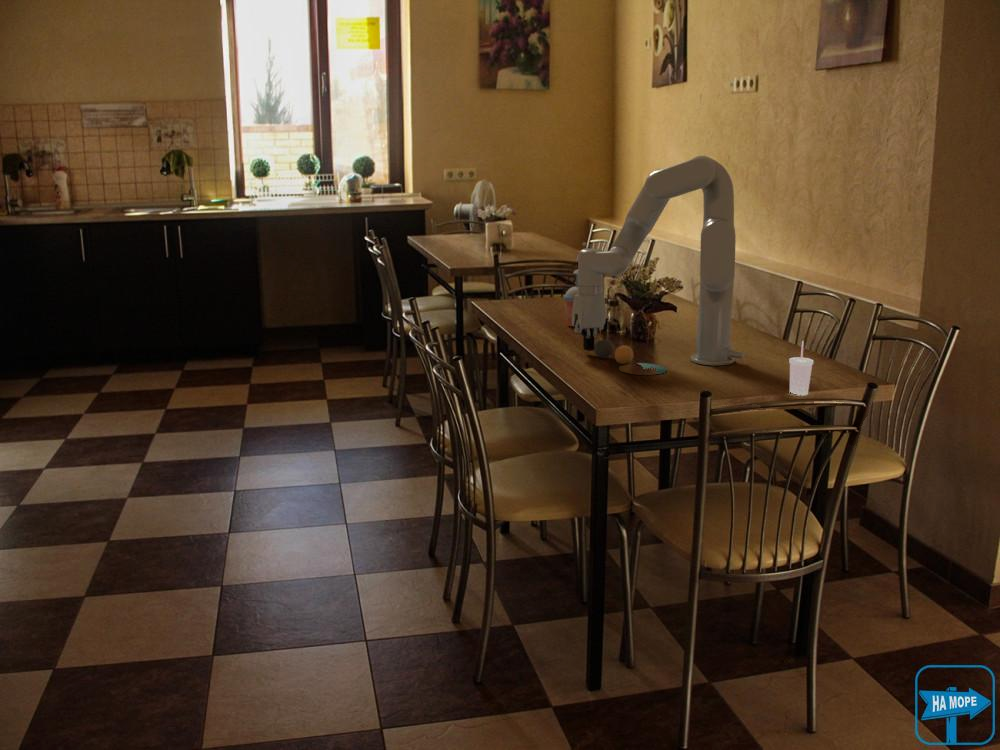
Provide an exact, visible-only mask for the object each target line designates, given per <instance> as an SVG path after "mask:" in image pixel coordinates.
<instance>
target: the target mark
mask: <svg viewBox="0 0 1000 750" xmlns="http://www.w3.org/2000/svg"><path fill="white" fill-rule="evenodd" d="M636 363H637V364H639V365H641V366H642V367H643V369H646V368H647V369H648V368H649V369H650V368H651V367H652V368H651V369H653V368H654V369H655V368H656V372H657V373H656V374H660V375H663V374H662V373H664V374H666V373H667V372H668V368H667V367H665V366H662V365H659V364H654V363H648V362H645V363H644V362H636ZM647 369H646V370H647ZM666 371H667V372H666ZM665 372H666V373H665ZM645 373H646V372H645ZM652 373H653V372H652Z"/></svg>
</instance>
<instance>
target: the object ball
mask: <svg viewBox="0 0 1000 750" xmlns="http://www.w3.org/2000/svg"><path fill="white" fill-rule="evenodd" d="M613 354H614V355H613V356H614V359H615V360H616V362H617V363H618V364H621V365H624V364H630V363H631V362H632V360H633V359H634V351H633V349H632V348H631V347H630V346H628V345H620V346H618V347H617V348H616V349H615V351H614V353H613Z"/></svg>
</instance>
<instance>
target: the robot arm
mask: <svg viewBox="0 0 1000 750" xmlns="http://www.w3.org/2000/svg"><path fill="white" fill-rule="evenodd" d="M700 189H701V191H702V194H703V221H702V222H703V224H702V228H701V232H700V252H699V254H700V256H699V258H700V262H699V263H700V264H699V280H700V281H699V295H698V297H699V298H698V299H699V300H698V313H697V315H698V317H697V330H696V332H697V333H696V347H695V348H696V349H695V351H696V352H695V353H693V354H691V355H690V360H691V362H694V363H695V364H700V365H705V366H727V365H731V364H733V363H734V362H735V358H736V359H739V360H740V359H741V360H743V359H744V355H745V352H742V351H741V350H734V349H733V345H731V344H730V342H731V330H732V328H731V326H732V314H733V313H732V312H733V299H734V282H735V276H736V275H735V272H736V271H735V270H736V242H737V241H736V239H737V238H736V235H737V234H736V229H735V194H734V184H733V181H732V178H731V176H730V174H729V172H728V170H727V169H726V168H725V167H724V166H723V165H722V164H721V163H720V162H718V161H717V160H715V159H713V158H712V157H710V156H706V155H697V156H694V157H692V159H689V160H686V161H683V162H681V163H677V164H674V165H671V166H668V167H664V168H658V169H655V170H654V171H652V172H650V173H649V174H648V176H647V177H646V178H645V182H644V184H643V186H642V187H641V189H640V191H639V193H638V195H637V196H636V198H635V200H634V201H633V203H632V205H631V206H630V209H629V210H628V212H627V213H626V217H625V220H624V223H623V226H622V227H621V230H620V231H619V233H618V235H617V236H616V239H615V240H614V242H613V243H612V245H611V247H610V249H609V250H608V251H603V250H602V249H599V248H585V249H584V248H583V249H581V250H580V251H578V256H577V257H578V260H577V262H578V263H577V264H578V265H577V269H578V295H575V299H574V303H573V311H572V326H573V327H575V328H574V330H573V332H574V333H578V334H581V337H583V342H582V343H583V345H582V346H583V350H585V351H588V352H592V351H593V352H594V346H595V338H596V337H597V335H598V333H599V332H600V331H602V330H604V329H605V324H606V321H607V320H606V318H607V316H606V315H607V313H606V310H607V309H606V307H607V306H606V299H605V295H604V293H603V292H604V290H605V288H606V285H604V275H606V276H613V277H618V276H622V275H623V274H625V272H626V271H627V270H628V268H629V267H630V265H631V263H632V262H633V260H634V258H635V257H636V254H637V253H638V251H639V249H640V248H641V246H642V244H643V242H644V241H645V239H646V238H647V236H648V235H649V234H650V233H651V232H652V230H653V228H654V227H655V225H656V223H657V221H658V220H659V219H660V216H661V215H662V213H663V211H664V210H665V208H666V206H667V205H668V203H669V201H670V200H671V199H672V198H676V197H680V196H683V195H685V194H688V193H691V192H695V191H697V190H700ZM573 327H572V328H573Z"/></svg>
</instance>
